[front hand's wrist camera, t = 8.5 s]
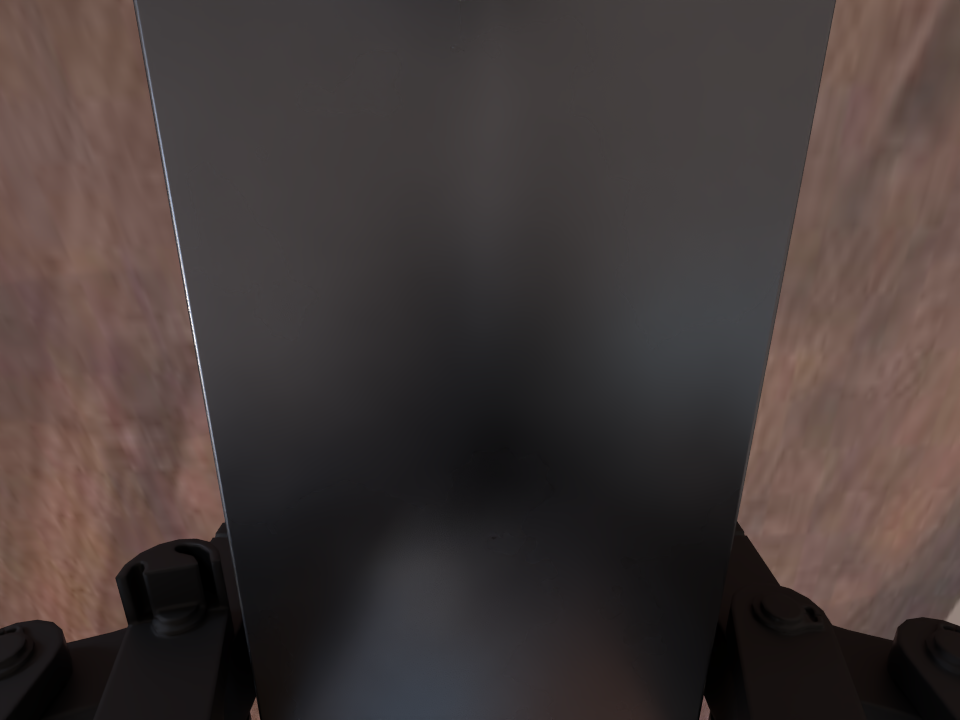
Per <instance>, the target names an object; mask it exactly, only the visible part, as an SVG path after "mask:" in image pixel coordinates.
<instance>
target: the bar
mask: <svg viewBox="0 0 960 720" xmlns="http://www.w3.org/2000/svg"><path fill="white" fill-rule="evenodd" d="M133 2H134V8H135V14H136V19H137V25H138V31H139V36H140V42H141V48H142V53H143V59H144V65H145V70H146V76H147V81H148V87H149V93H150V98H151V104H152V110H153V115H154V121H155V127H156V132H157V138H158V144H159V149H160V155H161V161H162V166H163V172H164V178H165V183H166V189H167V195H168V200H169V206H170V212H171V217H172V223H173V228H174V234H175V240H176V245H177V251H178V257H179V262H180V268H181V274H182V279H183V285H184V291H185V296H186V302H187V308H188V313H189V319H190V325H191V330H192V336H193V342H194V347H195V353H196V359H197V364H198V370H199V376H200V381H201V387H202V392H203V398H204V404H205V409H206V415H207V421H208V426H209V432H210V438H211V443H212V449H213V455H214V460H215V466H216V472H217V477H218V483H219V489H220V494H221V500H222V506H223V511H224V517H225V523H226V528H227V534H228V540H229V545H230V551H231V556H232V562H233V568H234V573H235V579H236V585H237V590H238V596H239V602H240V607H241V613H242V619H243V624H244V630H245V636H246V641H247V647H248V653H249V658H250V664H251V670H252V675H253V681H254V687H255V692H256V698H257V704H258V709H259V715H260V720H699V717H700V712H701V707H702V702H703V696H704V691H705V686H706V680H707V675H708V670H709V665H710V659H711V654H712V649H713V644H714V638H715V633H716V628H717V623H718V617H719V612H720V607H721V602H722V596H723V591H724V586H725V581H726V575H727V570H728V565H729V560H730V554H731V549H732V544H733V539H734V533H735V528H736V523H737V518H738V512H739V507H740V502H741V497H742V491H743V486H744V481H745V476H746V470H747V465H748V460H749V455H750V449H751V444H752V439H753V434H754V428H755V423H756V418H757V413H758V407H759V402H760V397H761V391H762V386H763V381H764V376H765V370H766V365H767V360H768V355H769V349H770V344H771V339H772V334H773V328H774V323H775V318H776V313H777V307H778V302H779V297H780V292H781V286H782V281H783V276H784V271H785V265H786V260H787V255H788V250H789V244H790V239H791V234H792V229H793V223H794V218H795V213H796V208H797V202H798V197H799V192H800V187H801V181H802V176H803V171H804V166H805V160H806V155H807V150H808V145H809V139H810V134H811V129H812V124H813V118H814V113H815V108H816V103H817V97H818V92H819V87H820V81H821V76H822V71H823V66H824V60H825V55H826V50H827V45H828V39H829V34H830V29H831V24H832V18H833V13H834V8H835V3H836V0H133Z"/></svg>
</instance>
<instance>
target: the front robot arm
mask: <svg viewBox="0 0 960 720" xmlns="http://www.w3.org/2000/svg"><path fill="white" fill-rule="evenodd" d="M116 582H117V586H118V589H119V593H120V597H121V600H122V604H123V608H124V611H125V615H126V618H127V622H128V627H127V628H124V629H121V630H118V631H115V632H111V633H107V634H103V635H99V636H94V637H90V638H86V639H82V640H78V641H73V642H69V643H66V640H65V637H64V634H63V631H62V629H61V628H59V627H58V626H57V625H56V624H55V623H54V622H49V621H42V620H33V621H26V622H20V623H15V624H12V625H10V626H7V627H4V628H1V629H0V720H251V714H250V710H251V708H252V705H253V703H254V700H255V698H256V692H255V687H254V681H253V675H252V670H251V664H250V658H249V653H248V647H247V641H246V636H245V630H244V624H243V619H242V613H241V607H240V602H239V596H238V590H237V585H236V579H235V573H234V568H233V562H232V556H231V551H230V545H229V540H228V534H227V528H226V523H222V525H221V526H220V528H219V529H218V531H217V532H216V536H215V538H212V540H211V541H210V542H208V541H204V540H200V539H178V540H174V541H171V542H167V543H163V544H159V545H157V546H155V547H153V548H150V549H148V550H146V551H144V552H142V553H140V554H139V555H137V556H136V557H135V558H133V559H132V560H131V561H129V562H128V563H127V564H125V565H124V567H123V568H122V569H121V571H120V572H119V574H118V575H117V576H116ZM704 696H705V699H706V701H707V704H708V706H709V709H710V714H709V720H960V626H958V625H955V624H952V623H949V622H947V621H944V620H938V619H931V618H924V617H921V618H914V619H908V620H906V621H905V622H903V623H902V624H901V625H900V626H899V627H898V628H897V631H896V634H895V638H894V641H893V640H888V639H884V638H880V637H876V636H871V635H867V634H863V633H859V632H854V631H850V630H847V629H843V628H840V627H837V626H834V625H832V624H831V622H830V621H829V619H828V618H827V616H826V615H825V613H824V611H823V610H822V609H820V608H819V607H818V606H817V605H816V604H815V603H813V602H812V601H811V600H810V599H809V598H807V597H805V596H803V595H801V594H799V593H798V592H796V591H794V590H792V589H789V588H786V587H782V586H780V585H779V583H778V582H777V580H776V579H775V577H774V576H773V574H772V573H771V571H770V570H769V568H768V567H767V565H766V564H765V562H764V561H763V559H762V558H761V556H760V555H759V553H758V552H757V550H756V549H755V547H754V546H753V544H752V543H751V541H750V540H749V538H748V537H747V536H745V535H744V531H743V529H742V528H741V526H740V525H739V523H738V522H737V523H736V528H735V533H734V539H733V544H732V549H731V554H730V560H729V565H728V570H727V575H726V581H725V586H724V591H723V596H722V602H721V607H720V612H719V617H718V623H717V628H716V633H715V638H714V644H713V649H712V654H711V659H710V665H709V670H708V675H707V680H706V686H705V691H704Z"/></svg>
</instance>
